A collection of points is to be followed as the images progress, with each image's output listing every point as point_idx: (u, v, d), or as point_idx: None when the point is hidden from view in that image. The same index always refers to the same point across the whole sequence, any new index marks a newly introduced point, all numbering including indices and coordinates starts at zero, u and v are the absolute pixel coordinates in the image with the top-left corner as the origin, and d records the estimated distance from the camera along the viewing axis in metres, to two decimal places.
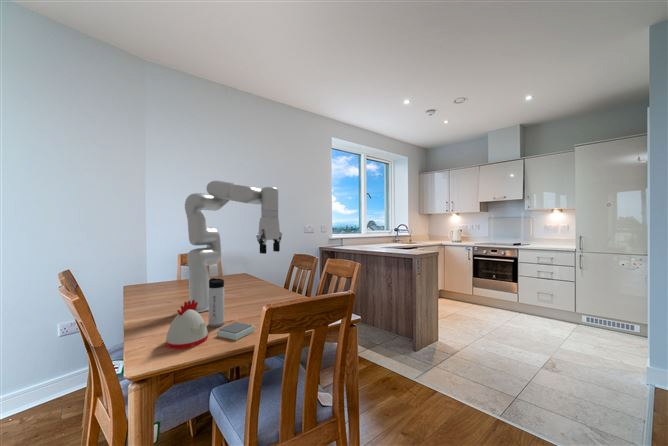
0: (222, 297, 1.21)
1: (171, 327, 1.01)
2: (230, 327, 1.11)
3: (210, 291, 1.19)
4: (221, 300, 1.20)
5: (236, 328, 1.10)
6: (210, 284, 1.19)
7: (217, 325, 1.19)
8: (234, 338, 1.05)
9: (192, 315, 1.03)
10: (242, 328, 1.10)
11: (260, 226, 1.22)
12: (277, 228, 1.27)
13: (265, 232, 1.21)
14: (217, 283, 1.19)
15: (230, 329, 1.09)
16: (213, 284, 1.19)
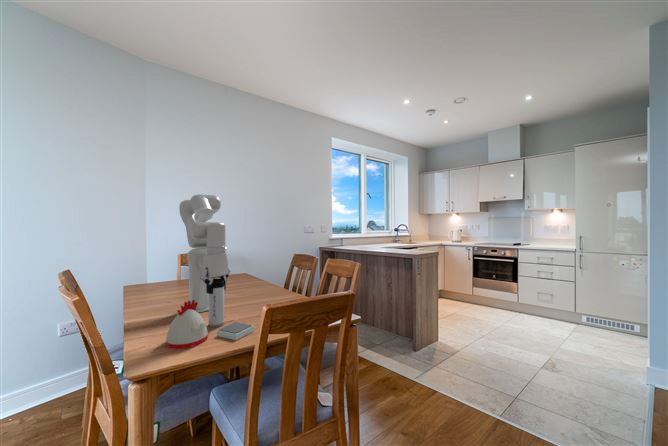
0: (222, 297, 1.21)
1: (171, 327, 1.01)
2: (230, 327, 1.11)
3: None
4: (221, 300, 1.20)
5: (236, 328, 1.10)
6: None
7: (217, 325, 1.19)
8: (234, 338, 1.05)
9: (192, 315, 1.03)
10: (242, 328, 1.10)
11: (204, 264, 1.18)
12: (224, 264, 1.23)
13: (209, 270, 1.17)
14: (217, 283, 1.19)
15: (230, 329, 1.09)
16: (213, 284, 1.19)
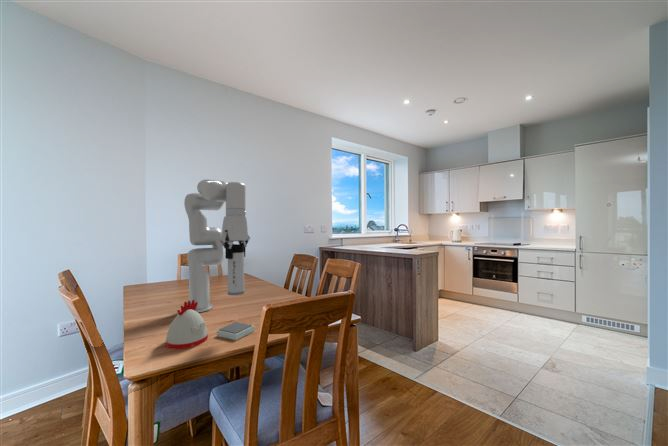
0: (242, 263, 1.11)
1: (171, 327, 1.01)
2: (230, 327, 1.11)
3: None
4: (241, 266, 1.10)
5: (236, 328, 1.10)
6: None
7: (237, 293, 1.09)
8: (234, 338, 1.05)
9: (192, 315, 1.03)
10: (242, 328, 1.10)
11: (223, 226, 1.08)
12: (244, 228, 1.13)
13: (229, 233, 1.07)
14: (237, 247, 1.09)
15: (230, 329, 1.09)
16: (233, 248, 1.09)
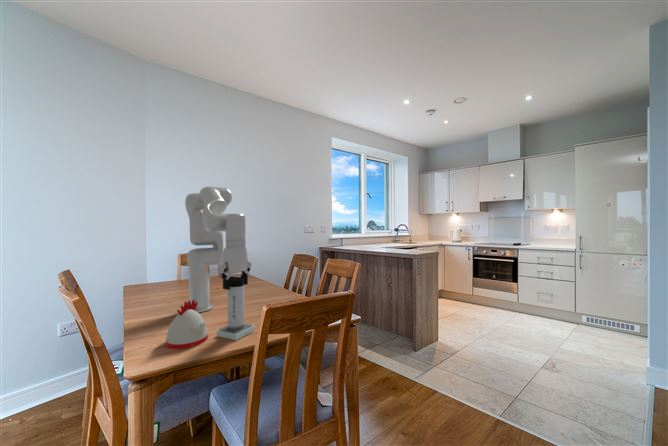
0: (242, 297, 1.11)
1: (171, 327, 1.01)
2: None
3: (230, 290, 1.09)
4: (241, 300, 1.10)
5: None
6: None
7: (237, 327, 1.09)
8: (234, 338, 1.05)
9: (192, 315, 1.03)
10: (242, 328, 1.10)
11: (223, 258, 1.08)
12: (244, 259, 1.13)
13: (229, 265, 1.07)
14: (237, 282, 1.09)
15: (230, 329, 1.09)
16: (233, 283, 1.09)
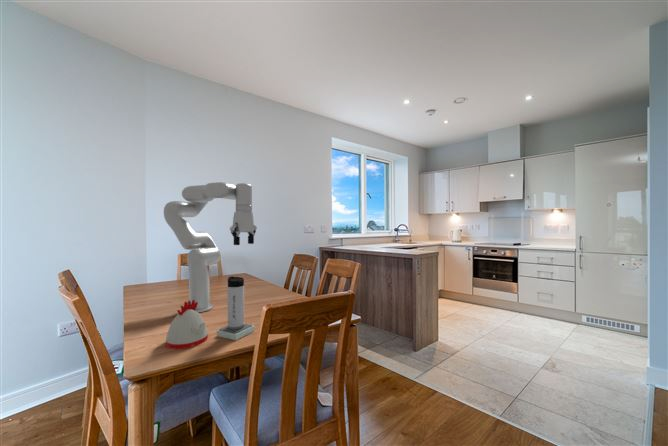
0: (242, 297, 1.11)
1: (171, 327, 1.01)
2: None
3: (230, 290, 1.09)
4: (241, 300, 1.10)
5: None
6: (229, 283, 1.09)
7: (237, 327, 1.09)
8: (234, 338, 1.05)
9: (192, 315, 1.03)
10: (242, 328, 1.10)
11: (234, 219, 1.31)
12: (251, 222, 1.36)
13: (238, 225, 1.30)
14: (237, 282, 1.09)
15: None
16: (233, 283, 1.09)
